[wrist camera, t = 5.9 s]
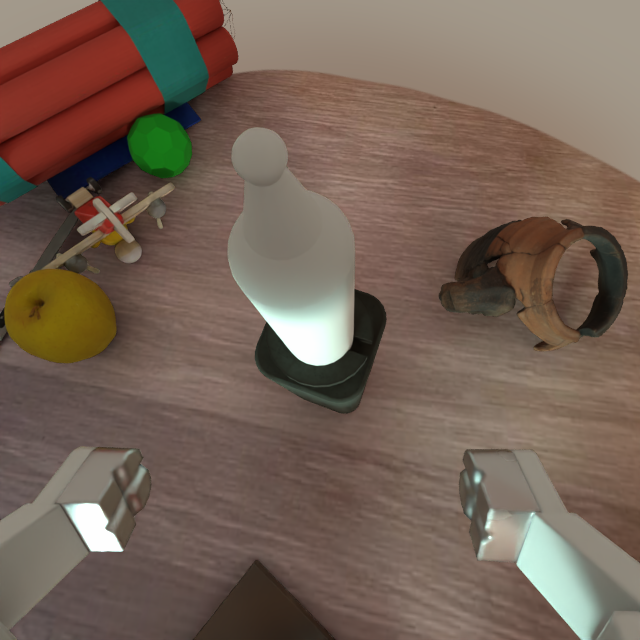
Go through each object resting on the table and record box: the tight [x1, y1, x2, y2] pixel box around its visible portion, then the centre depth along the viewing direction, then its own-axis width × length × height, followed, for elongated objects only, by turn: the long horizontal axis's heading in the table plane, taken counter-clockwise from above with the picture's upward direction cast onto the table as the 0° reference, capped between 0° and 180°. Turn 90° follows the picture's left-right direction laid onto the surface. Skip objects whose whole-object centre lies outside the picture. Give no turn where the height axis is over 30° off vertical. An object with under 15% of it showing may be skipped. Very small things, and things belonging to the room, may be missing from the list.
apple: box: [4, 269, 117, 363], centre depth 28 cm, size 6×6×8 cm
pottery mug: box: [439, 217, 628, 351], centre depth 28 cm, size 12×10×8 cm
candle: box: [228, 127, 387, 413], centre depth 18 cm, size 5×5×25 cm
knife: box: [0, 208, 79, 340], centre depth 33 cm, size 15×1×3 cm
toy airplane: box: [41, 177, 175, 273], centre depth 31 cm, size 9×9×6 cm
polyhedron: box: [127, 113, 192, 178], centre depth 33 cm, size 5×5×5 cm
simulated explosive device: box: [0, 0, 238, 206], centre depth 33 cm, size 27×11×10 cm, turn 129°
